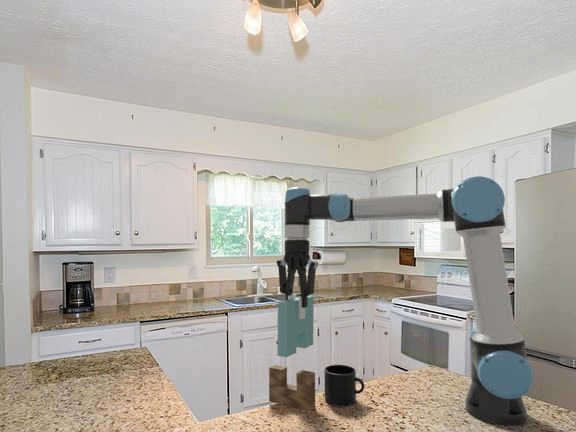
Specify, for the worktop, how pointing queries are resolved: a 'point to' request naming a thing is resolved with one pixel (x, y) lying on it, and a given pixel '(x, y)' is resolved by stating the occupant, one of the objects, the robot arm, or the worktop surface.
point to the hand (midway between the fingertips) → (296, 317)
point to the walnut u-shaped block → (292, 388)
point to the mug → (341, 385)
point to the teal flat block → (294, 326)
